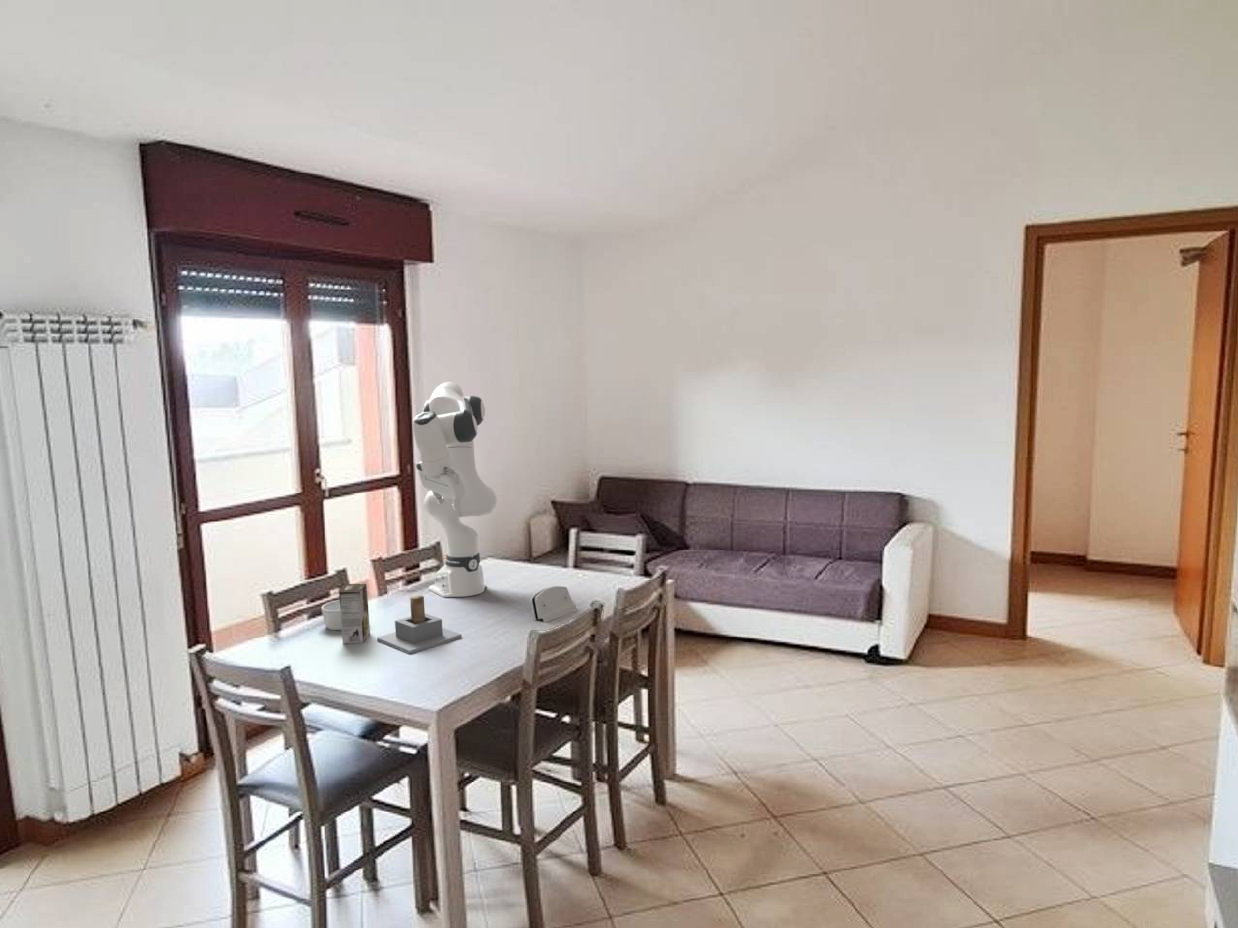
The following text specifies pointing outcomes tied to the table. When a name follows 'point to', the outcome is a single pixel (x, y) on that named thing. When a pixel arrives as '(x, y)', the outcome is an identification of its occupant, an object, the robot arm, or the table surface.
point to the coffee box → (354, 613)
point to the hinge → (551, 603)
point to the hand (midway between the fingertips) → (448, 506)
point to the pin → (417, 609)
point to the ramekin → (332, 615)
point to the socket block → (418, 634)
